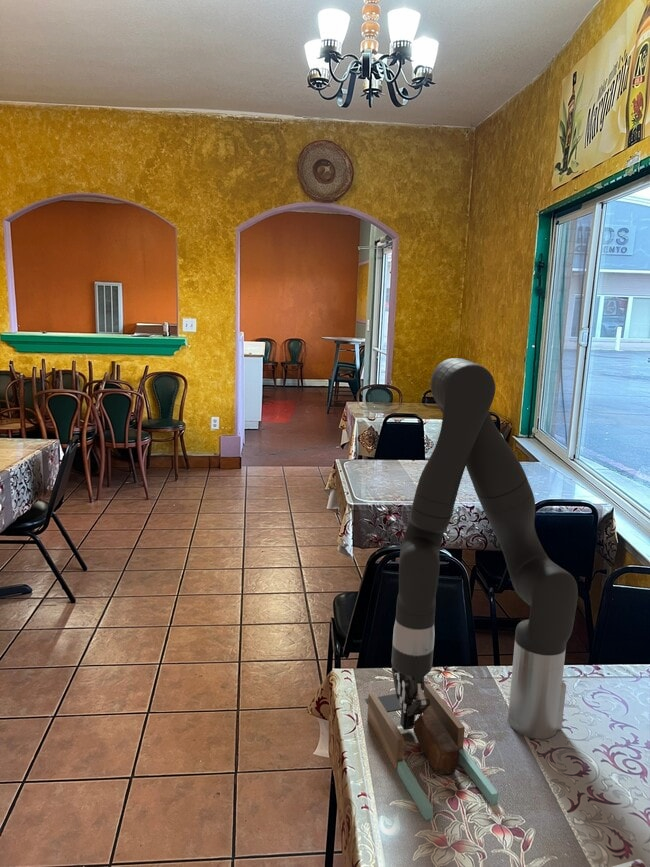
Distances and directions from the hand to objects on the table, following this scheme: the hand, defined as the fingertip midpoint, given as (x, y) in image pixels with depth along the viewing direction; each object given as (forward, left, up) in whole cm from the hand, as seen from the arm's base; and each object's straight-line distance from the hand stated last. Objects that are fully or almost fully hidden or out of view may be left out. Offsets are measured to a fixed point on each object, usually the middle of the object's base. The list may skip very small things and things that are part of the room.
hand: (406, 726), depth 121 cm
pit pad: (-1, -9, -1) cm, 9 cm away
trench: (0, +2, -1) cm, 2 cm away
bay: (0, +15, -1) cm, 15 cm away
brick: (0, +5, -2) cm, 6 cm away
